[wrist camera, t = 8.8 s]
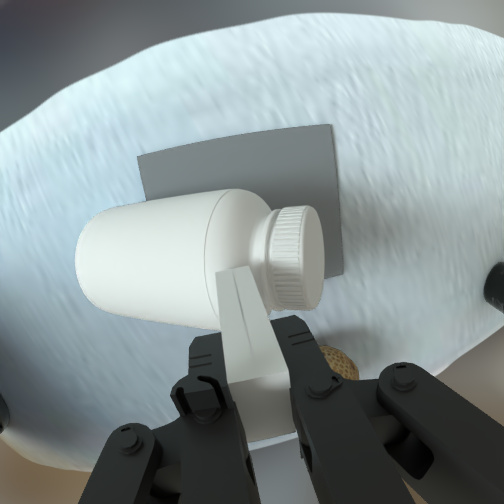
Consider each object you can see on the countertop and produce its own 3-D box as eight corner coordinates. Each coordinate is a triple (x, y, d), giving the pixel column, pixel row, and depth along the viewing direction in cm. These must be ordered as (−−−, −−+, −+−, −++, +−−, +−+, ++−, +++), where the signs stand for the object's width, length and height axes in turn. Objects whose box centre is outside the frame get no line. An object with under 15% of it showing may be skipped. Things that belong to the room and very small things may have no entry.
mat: (177, 309, 27) (177, 311, 27) (137, 156, 22) (136, 156, 22) (341, 272, 29) (343, 274, 28) (328, 124, 24) (329, 124, 23)
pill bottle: (98, 186, 20) (306, 147, 14) (158, 241, 26) (332, 235, 20) (54, 286, 16) (285, 310, 10) (131, 326, 23) (321, 352, 17)
